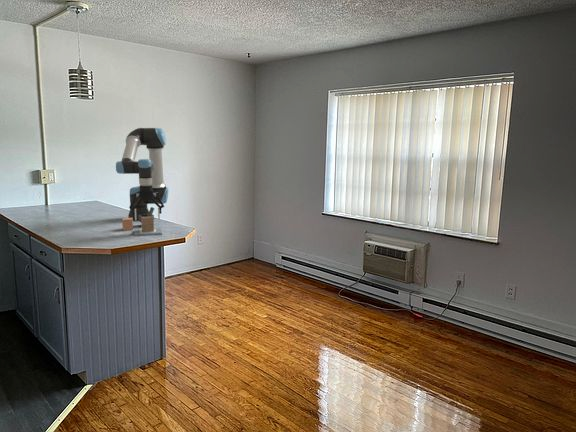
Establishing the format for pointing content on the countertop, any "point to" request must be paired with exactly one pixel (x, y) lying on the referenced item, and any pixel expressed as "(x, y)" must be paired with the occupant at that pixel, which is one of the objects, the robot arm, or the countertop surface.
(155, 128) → the robot arm
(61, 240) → the countertop surface
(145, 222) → the walnut block
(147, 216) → the mortar and pestle
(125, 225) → the terracotta block
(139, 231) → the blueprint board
